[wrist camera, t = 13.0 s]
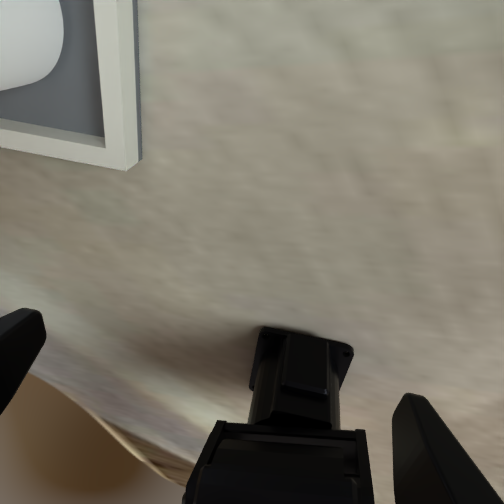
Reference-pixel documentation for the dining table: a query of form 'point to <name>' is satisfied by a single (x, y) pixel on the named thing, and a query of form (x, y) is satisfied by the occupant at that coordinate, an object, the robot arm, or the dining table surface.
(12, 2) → the can
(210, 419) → the dining table surface
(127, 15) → the square tray
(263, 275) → the dining table surface
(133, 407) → the dining table surface
